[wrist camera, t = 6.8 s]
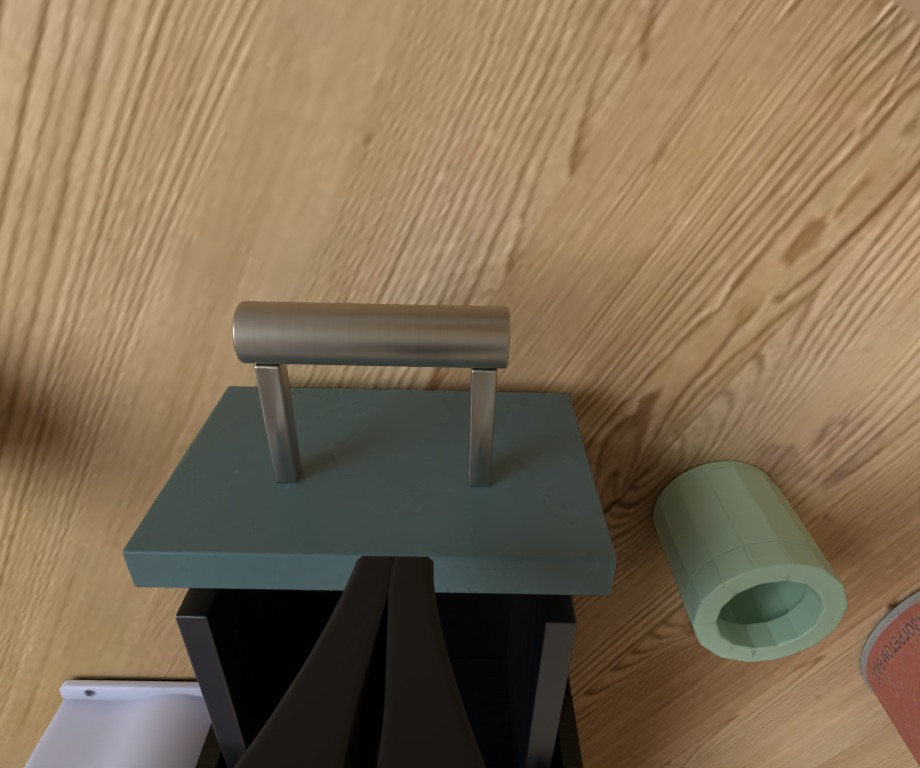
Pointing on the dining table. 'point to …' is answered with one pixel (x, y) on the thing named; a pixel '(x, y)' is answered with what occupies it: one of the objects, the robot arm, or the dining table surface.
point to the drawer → (381, 516)
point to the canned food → (897, 669)
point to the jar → (746, 564)
